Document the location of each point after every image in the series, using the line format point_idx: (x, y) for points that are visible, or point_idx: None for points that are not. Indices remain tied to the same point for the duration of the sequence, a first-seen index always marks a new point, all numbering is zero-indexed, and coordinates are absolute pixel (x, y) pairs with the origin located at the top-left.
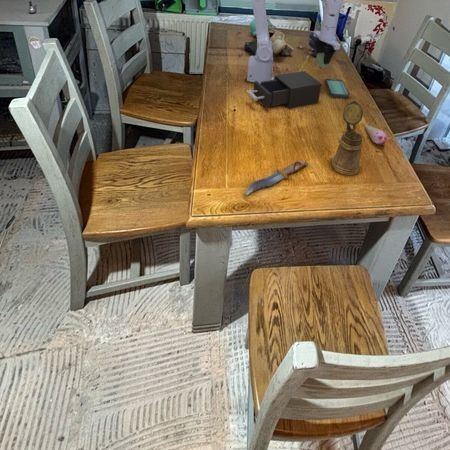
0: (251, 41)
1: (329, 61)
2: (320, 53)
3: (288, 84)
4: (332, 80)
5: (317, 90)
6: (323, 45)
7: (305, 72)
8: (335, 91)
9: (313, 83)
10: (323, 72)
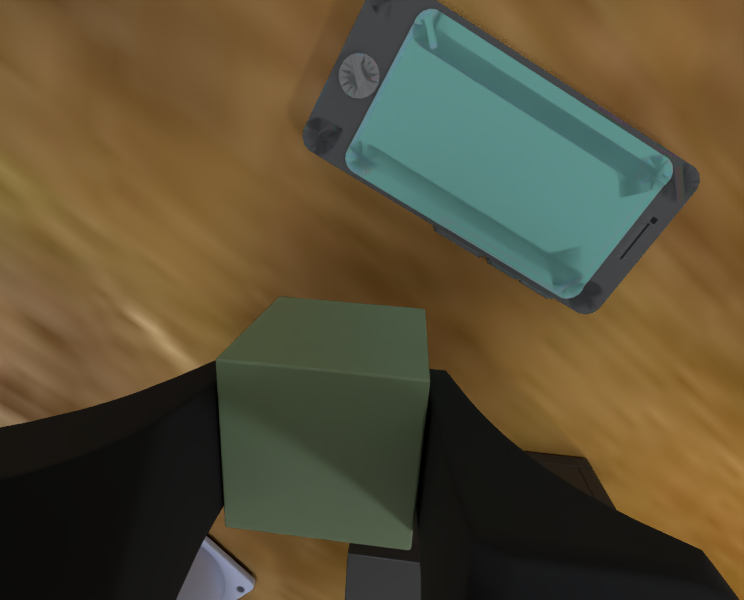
0: None
1: (456, 386)
2: (243, 479)
3: None
4: (357, 99)
5: None
6: (118, 535)
7: (379, 567)
8: (564, 249)
9: None
10: (135, 25)
